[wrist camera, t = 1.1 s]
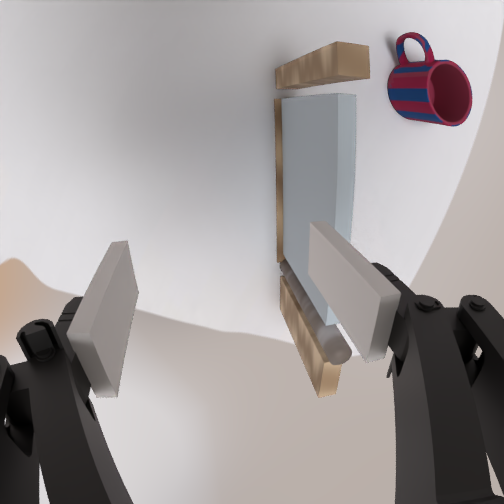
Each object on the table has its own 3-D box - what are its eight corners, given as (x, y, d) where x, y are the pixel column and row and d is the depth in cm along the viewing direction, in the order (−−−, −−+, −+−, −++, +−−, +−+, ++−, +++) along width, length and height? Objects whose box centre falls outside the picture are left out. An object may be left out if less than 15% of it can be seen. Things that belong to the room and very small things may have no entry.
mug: (399, 127, 31) (438, 135, 25) (366, 43, 27) (403, 34, 20) (438, 110, 31) (478, 115, 25) (410, 31, 26) (449, 24, 20)
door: (306, 251, 35) (357, 319, 24) (283, 253, 34) (325, 325, 23) (307, 99, 28) (376, 96, 17) (281, 98, 28) (337, 93, 16)
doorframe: (273, 69, 27) (341, 37, 13) (297, 69, 27) (380, 44, 14) (276, 309, 38) (317, 407, 24) (296, 306, 38) (343, 400, 25)
